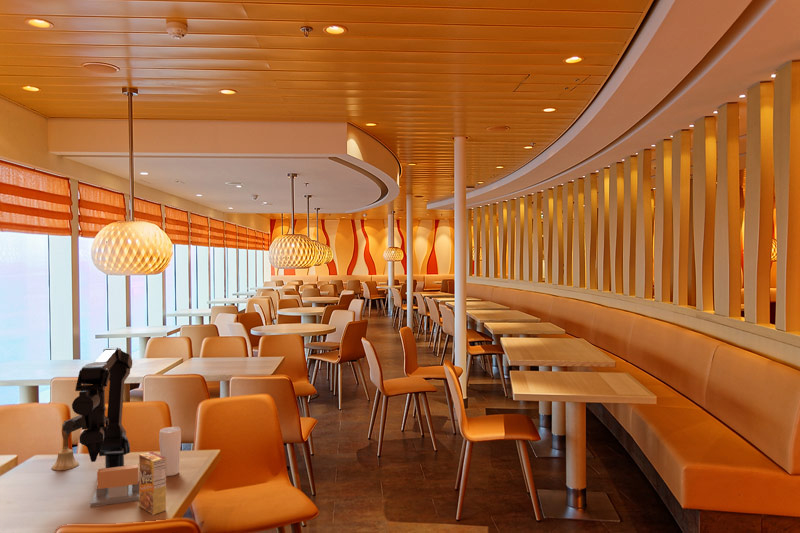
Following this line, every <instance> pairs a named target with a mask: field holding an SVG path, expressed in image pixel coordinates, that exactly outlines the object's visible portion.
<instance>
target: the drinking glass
mask: <svg viewBox="0 0 800 533" xmlns="http://www.w3.org/2000/svg"><path fill="white" fill-rule="evenodd" d="M158 437H159V438H158V439H159V441H158V442H159V450H160V451H159V452H160V454H159V455H160V456H163V457H165V458H166V477H172V476H175V475H178V474H179V471H180V459H181V458H180V457H181V456H180V455H181V444H182V430H181V428H180V427H179V426H168V427H163V428H161V429H160V430H159V436H158Z"/></svg>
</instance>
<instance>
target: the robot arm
mask: <svg viewBox="0 0 800 533" xmlns="http://www.w3.org/2000/svg"><path fill="white" fill-rule="evenodd" d="M132 368H133V358H132V356H131V355H130V354H129V353H127V352H125V351H123V350H122V349H121V348H120V347H106V348H104V349H103V351H102V353H101V354H100V355H99V356H98V357H97V358H96V360H94V361H93V362H90V363H86V364H85V365H84V366H82V367H81V369H80V370H79V373H78V376H77V381H76V384H75V390H74V391H75V392H78V394H79V395H78V396H77V397H75V398H74V400H73V401H72V404H71V407H72V408H71V409H72V411H73V412H74V414H75V415H77V416H74V417H72V418H69V419H67V420H64V421H65V422H64V421H63V424H61V426H63V431H65V433H66V434H69V435H70V434H71V433H73V432H75V431H77V430H79V429H81V430H82V431H81V432H80V434H79V444H81V445H83V446H84V447H86V448H87V452H88V455H89V458H90V462H91V463H95V462H96V461H97V458H98V456H99V457H104V460H105V463H104V466H105V467H104V468H112V467H121V466H125V456H126V455H127V454H130V453H131V447H130V446H131V443H130V441H129V438H128V437H127V432H126V429H125V428H124V426H123V425H122V423H123V422H122V421H123V406H124V405H123V404H124V389H125V381H126V380H127V378H128V377H129V376H130V374H131V369H132ZM108 385H109V387H108ZM106 387H108V399H107V400H108V401H107V402H108V403H107V406H106V393H105V391H106ZM106 407H107V408H106ZM106 411H107V414H106Z"/></svg>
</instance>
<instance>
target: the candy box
mask: <svg viewBox="0 0 800 533" xmlns="http://www.w3.org/2000/svg"><path fill="white" fill-rule="evenodd" d="M138 457H139V500H138V504H139V505H138V507H140V508H141V509H143V510H145V511H147V512H148V513H150V514H151V515H152V516H154V515H157V514H159V513H162V512H165V511H167V476H166V458H165V457H163V456H161V454H158V453H155V452H154V451H148V452H144V453H140V454H139V456H138Z"/></svg>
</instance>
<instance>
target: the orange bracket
mask: <svg viewBox="0 0 800 533" xmlns="http://www.w3.org/2000/svg"><path fill="white" fill-rule="evenodd" d="M96 473H97V474H96V476H97V478H96V481H97V482H96V486H97V489H103V488H111V487H119V486H127V485H135V484H138V482H139V464H132V465H131V464H130V465H124V466H121V467H112V468H105V467H103V468H98V470H97V472H96Z"/></svg>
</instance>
